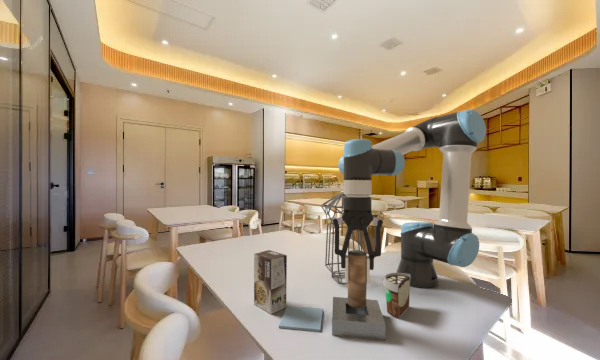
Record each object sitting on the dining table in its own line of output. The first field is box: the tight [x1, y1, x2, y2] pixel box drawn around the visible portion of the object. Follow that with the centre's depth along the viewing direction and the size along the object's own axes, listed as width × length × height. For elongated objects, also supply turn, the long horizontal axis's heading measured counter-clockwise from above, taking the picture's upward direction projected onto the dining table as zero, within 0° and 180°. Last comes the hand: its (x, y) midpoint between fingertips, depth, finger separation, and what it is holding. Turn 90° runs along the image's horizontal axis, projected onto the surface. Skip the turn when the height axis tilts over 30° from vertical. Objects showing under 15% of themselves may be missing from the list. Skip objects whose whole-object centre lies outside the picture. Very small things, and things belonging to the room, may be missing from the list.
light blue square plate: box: [278, 305, 324, 333], centre depth 73 cm, size 11×11×1 cm
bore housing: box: [331, 296, 386, 341], centre depth 70 cm, size 13×13×4 cm
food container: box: [382, 272, 411, 320], centre depth 79 cm, size 12×6×10 cm, turn 141°
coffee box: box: [253, 249, 288, 315], centre depth 80 cm, size 9×6×16 cm
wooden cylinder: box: [347, 249, 368, 308], centre depth 71 cm, size 5×5×14 cm
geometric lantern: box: [320, 191, 363, 285], centre depth 103 cm, size 16×16×35 cm
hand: (357, 280), depth 71 cm, fingers closed on wooden cylinder, 5 cm apart
